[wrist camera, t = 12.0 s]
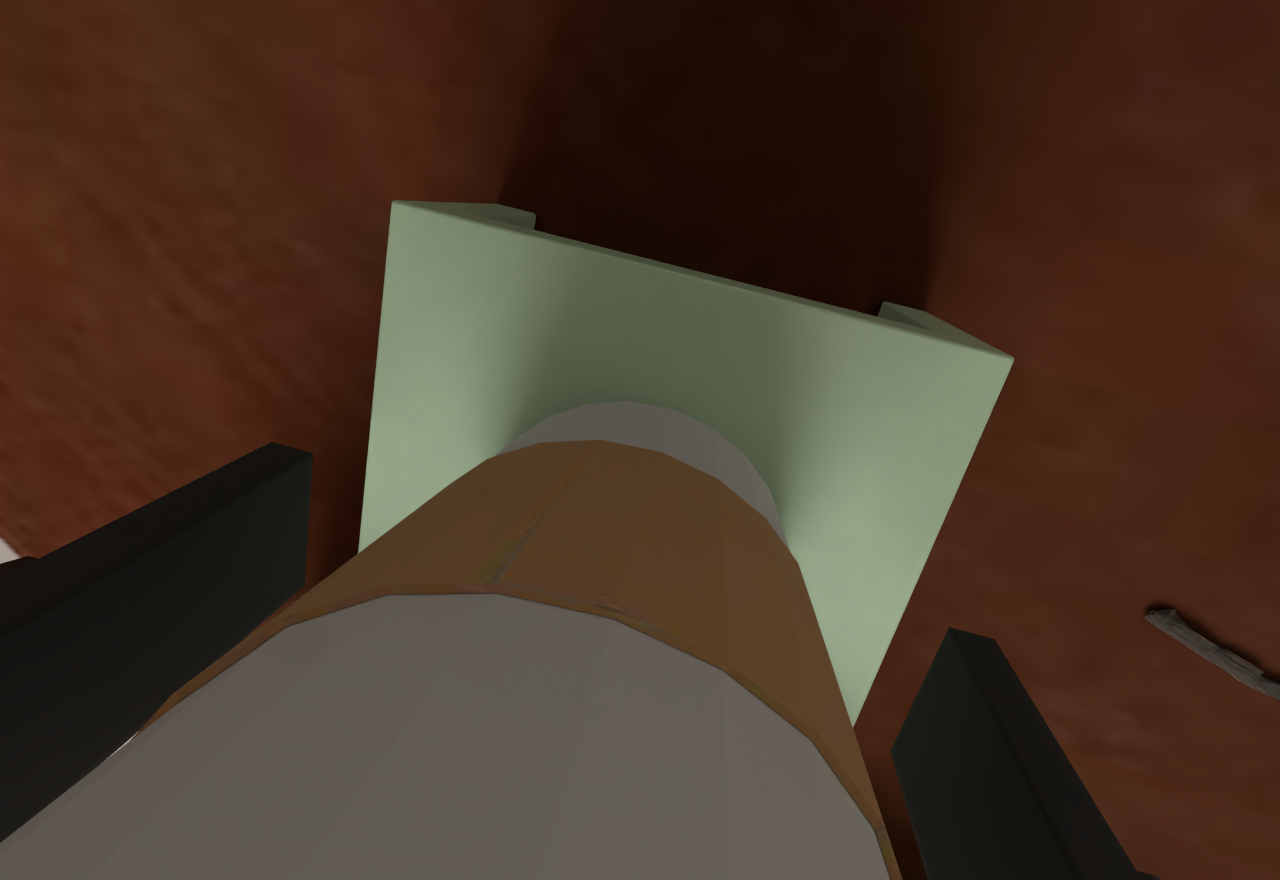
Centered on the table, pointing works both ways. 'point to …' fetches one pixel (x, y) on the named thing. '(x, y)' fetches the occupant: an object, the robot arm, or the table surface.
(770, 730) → the coffee cup
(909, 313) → the shelf
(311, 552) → the table surface
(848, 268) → the table surface
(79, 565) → the robot arm
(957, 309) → the table surface
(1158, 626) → the stick
